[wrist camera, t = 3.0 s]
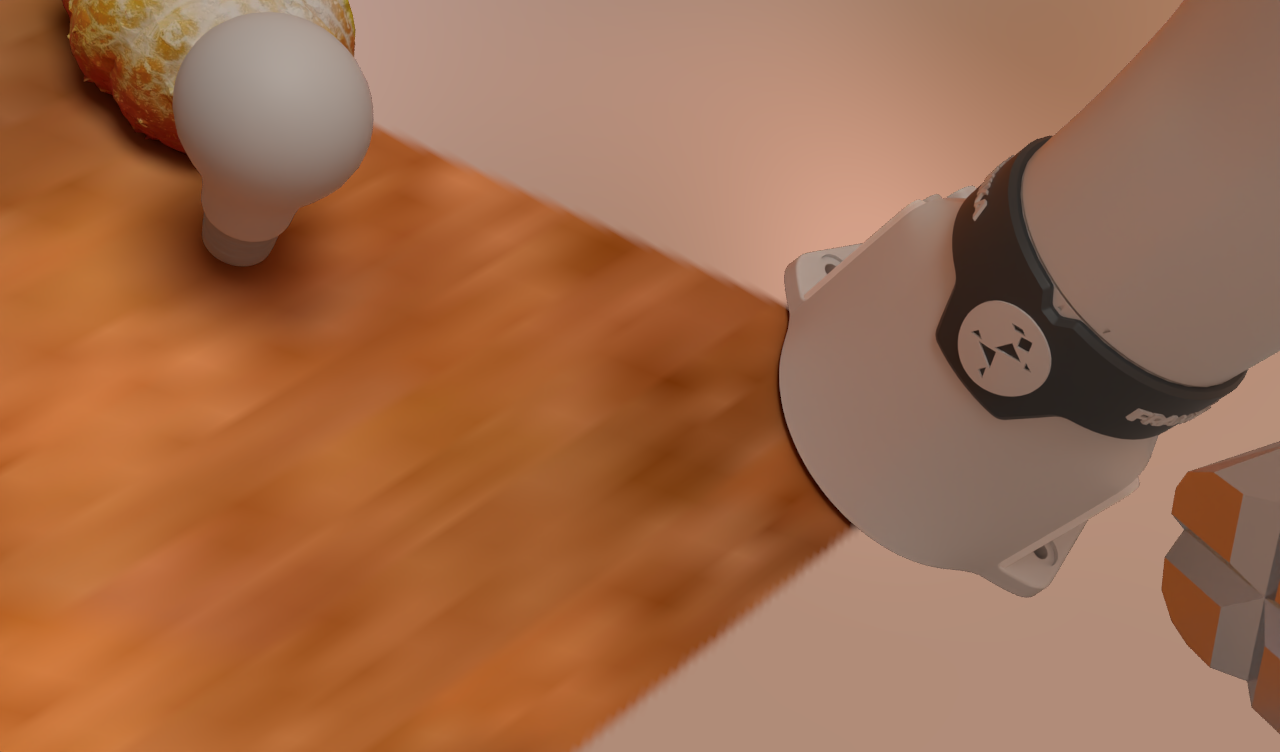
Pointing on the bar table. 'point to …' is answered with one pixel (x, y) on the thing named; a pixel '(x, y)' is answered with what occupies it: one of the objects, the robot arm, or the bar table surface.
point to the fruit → (168, 47)
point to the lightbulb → (268, 126)
